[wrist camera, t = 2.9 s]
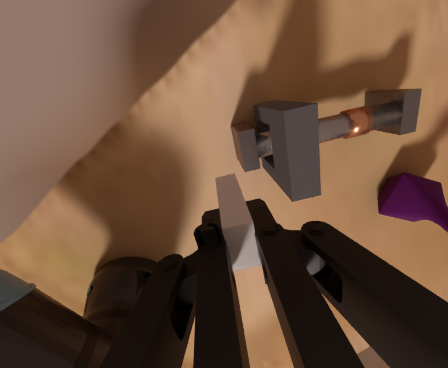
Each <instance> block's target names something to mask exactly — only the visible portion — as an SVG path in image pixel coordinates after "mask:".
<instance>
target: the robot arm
mask: <svg viewBox="0 0 448 368" xmlns="http://www.w3.org/2000/svg"><path fill="white" fill-rule="evenodd" d="M215 179H216V187H217V195H218V203H219V209H214V210H210V211H206V212H205V213H204V214H203V216H202V224H201V225H200V226H198V227H197V228H196V229H195V231H194V233H193V234H194V237H195V240H196V243H197V245H198V250H197V251H195V252H194V253H193V254H191V255H189V256H187V257H185V258H183V257H182V256H181V255H179V254H172V255H168V256H166V257H164V258H163V259H162V260H160V261H159V262H158V263H156V262H154V261H151V260H148V259H144V258H136V257H128V258H121V259H117V260H114V261H111V262H109V263H107V264H106V265H104V266H103V267H102V268H100V269H99V271H98V272H97V273H96V275H95V277H94V278H93V280H92V282H91V283H90V286H89V288H88V292H87V298H86V303H85V309H84V315H83V317H82V316H80V315H78V314H77V313H75V312H74V311H72V310H70V309H69V308H67V307H66V306H64V305H62V304H61V303H59V302H58V301H56V300H54V299H53V298H51V297H50V296H48V295H46V294H45V293H43V292H42V291H40V290H39V289H37V288H35V287H36V285H35V284H34V283H27V282H25V281H24V280H22V279H20V278H18V277H16V276H14V275H12V274H11V273H9V272H7V271H5V270H2V269H0V368H181V366H182V362H183V359H184V355H185V351H186V348H187V344H188V340H189V337H190V333H191V329H192V326H193V322H194V318H195V338H194V364H193V368H250V364H249V358H248V352H247V346H246V340H245V335H244V329H243V323H242V317H241V311H240V305H239V299H238V293H237V287H236V281H235V277H234V273H233V271H238V270H242V269H246V268H251V267H255V266H259V265H261V264H262V268H263V273H264V279H265V284H267V286H268V289H269V292H270V295H271V298H272V301H273V304H274V307H275V310H276V313H277V316H278V319H279V322H280V326H281V329H282V332H283V335H284V338H285V341H286V344H287V347H288V350H289V353H290V356H291V359H292V362H293V366H294V368H364V366H363V364H362V362H361V361H360V359H359V357H358V356H357V354H356V352H355V350H354V349H353V347H352V345H351V344H350V342H349V340H348V338H347V337H346V335H345V333H344V332H343V330H342V328H341V326H340V325H339V323H338V321H337V320H336V318H335V316H334V314H333V313H332V311H331V309H330V307H329V306H328V304H327V302H326V301H325V299H324V297H323V295H324V296H325V297H326V298H327V299H328V301H329V302H330V303H331V304H332V305H333V306H334V307H335V308H336V309H337V310H338V311H339V313H340V314H341V315H342V316H343V317H344V318H345V319H346V320H347V321H348V322H349V323H350V324H351V326H352V327H353V328H354V329H355V330H356V331H357V332H358V333H359V334H360V335H361V336H362V338H363V339H364V340H365V341H366V342H367V343H368V344H369V345H370V346H371V347H372V348H373V349H374V350H375V352H376V353H377V354H378V355H379V356H380V357H381V358H382V359H383V360H384V361H385V363H386V364H387V365H388V366H389V367H390V368H448V302H446V301H445V300H443V299H442V298H440V297H439V296H437V295H436V294H434V293H433V292H431V291H430V290H428V289H427V288H425V287H423V286H422V285H420V284H419V283H417V282H416V281H414V280H413V279H411V278H410V277H408V276H407V275H405V274H404V273H402V272H401V271H399V270H398V269H396V268H395V267H393V266H392V265H390V264H388V263H387V262H385V261H384V260H382V259H381V258H379V257H378V256H376V255H375V254H373V253H372V252H370V251H369V250H367V249H366V248H364V247H363V246H361V245H360V244H358V243H357V242H355V241H353V240H352V239H350V238H349V237H347V236H346V235H344V234H343V233H341V232H340V231H338V230H337V229H335V228H334V227H332V226H331V225H329V224H327V223H325V222H321V221H310V222H307V223H305V224H303V226H302V227H301V230H287V229H283V227H282V226H281V225H280V224H278V223H276V221H275V219H274V218H273V216H272V214H271V212H270V210H269V209H268V207H267V205H266V203H265V201H263V200H261V199H255V200H250V201H246V202H245V199H244V197H243V194H242V191H241V189H240V186H239V184H238V181H237V178H236V176H235V174H231V175H226V176H222V177H218V178H215ZM321 293H322V294H323V295H322V294H321Z"/></svg>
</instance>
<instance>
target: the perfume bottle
mask: <svg viewBox="0 0 448 368" xmlns="http://www.w3.org/2000/svg"><path fill="white" fill-rule="evenodd" d="M378 210H379V214H382V215H387V216H391V217H395V218H399V219H404V220H408V221H412V222H415V221H420V220H430V221H433V222H434V223H436V224H438V225H440V226H441V227H442V228H443V229H444V230H445V231H447V232H448V207H447V205H446V202H445V198H444V195H443V190H442V185H441V183H440V182H436V181H433V180H429V179H426V178H422V177H419V176H415V175H412V174H408V173H401V174H398V175H396V176H393V177H390V178H389V180H388V181H387V183H386V185H385V186H384V188H383V190H382V191H381V193H380V195H379V196H378Z"/></svg>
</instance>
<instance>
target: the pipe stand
mask: <svg viewBox="0 0 448 368" xmlns="http://www.w3.org/2000/svg"><path fill="white" fill-rule="evenodd" d="M421 90H422V89H394V90H377V91H373V92H368V93H365V106H362V107H358V108H353V109H349V110H345V111H342V112H340V114H337V115H333V116H329V117H324V118H320V119H318V129H319V143H322V142H326V141H331V140H335V139H339V138H345V139H347V138H352V137H356V136H360V135H364V134H367V133H369V132H370V131H372V130H377V131H382V132H387V133H392V134H397V135H402V134H406V133H410V132H415V131H416V124H417V117H418V110H419V104H420V97H421ZM231 130H232V135H233V140H234V145H235V150H236V155H237V159H238V161H239V162H240V164H241V166H242V168H243V170H244V171H245V172H247V171H252V170H256V169H260V162H259V157H264V156H268V155H272V154H273V150H272V142H271V135H270V131H266V132H262V133H257V134H255V131H254V128H252V127H251V126H249V125H248V124H246V123H245V122H243V123H239V124H234V125H231Z"/></svg>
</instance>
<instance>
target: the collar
mask: <svg viewBox="0 0 448 368" xmlns="http://www.w3.org/2000/svg"><path fill="white" fill-rule="evenodd" d="M254 112H255V119H256V125H257V132H258V133H262V132H266V131H270V135H271V142H272V150H273V154H272V155H268V156H264V157H261V158H262V165H263V168H264V169H265V170H266V171H267V172H268V174H269V175H270V176H271V177H272V178H273V179H274V181H275V182H276V183H277V184H278V185H279V186H280V188H281V189H282V190H283V191H284V192H285V194H286V195H287V196H288V197H289V198H290V199H291V201H292V202H294V201H298V200H302V199H306V198H310V197H314V196H319V195H321V184H320V156H319V129H318V103H306V102H290V101H271V102H267V103H263V104H258V105H254Z"/></svg>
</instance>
